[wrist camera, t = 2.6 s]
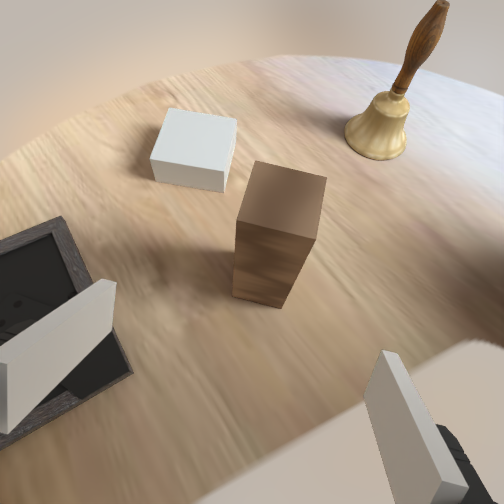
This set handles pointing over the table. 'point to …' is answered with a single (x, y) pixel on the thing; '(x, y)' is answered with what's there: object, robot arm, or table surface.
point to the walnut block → (275, 232)
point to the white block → (194, 150)
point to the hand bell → (396, 95)
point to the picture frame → (44, 302)
